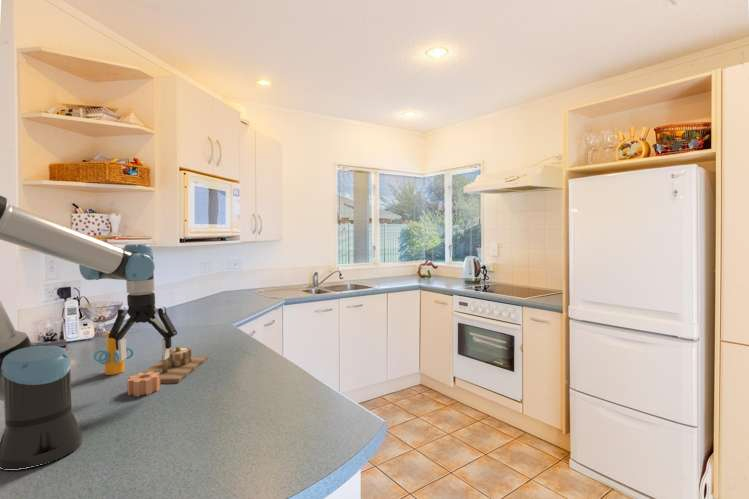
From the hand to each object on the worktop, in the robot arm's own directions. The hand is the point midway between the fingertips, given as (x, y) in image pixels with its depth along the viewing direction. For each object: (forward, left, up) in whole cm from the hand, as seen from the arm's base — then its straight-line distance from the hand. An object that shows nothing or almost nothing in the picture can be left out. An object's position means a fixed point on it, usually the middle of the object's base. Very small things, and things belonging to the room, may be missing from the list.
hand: (144, 359), depth 126 cm
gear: (0, 0, -10) cm, 10 cm away
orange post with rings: (+17, +20, -10) cm, 28 cm away
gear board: (+18, 0, -10) cm, 20 cm away
